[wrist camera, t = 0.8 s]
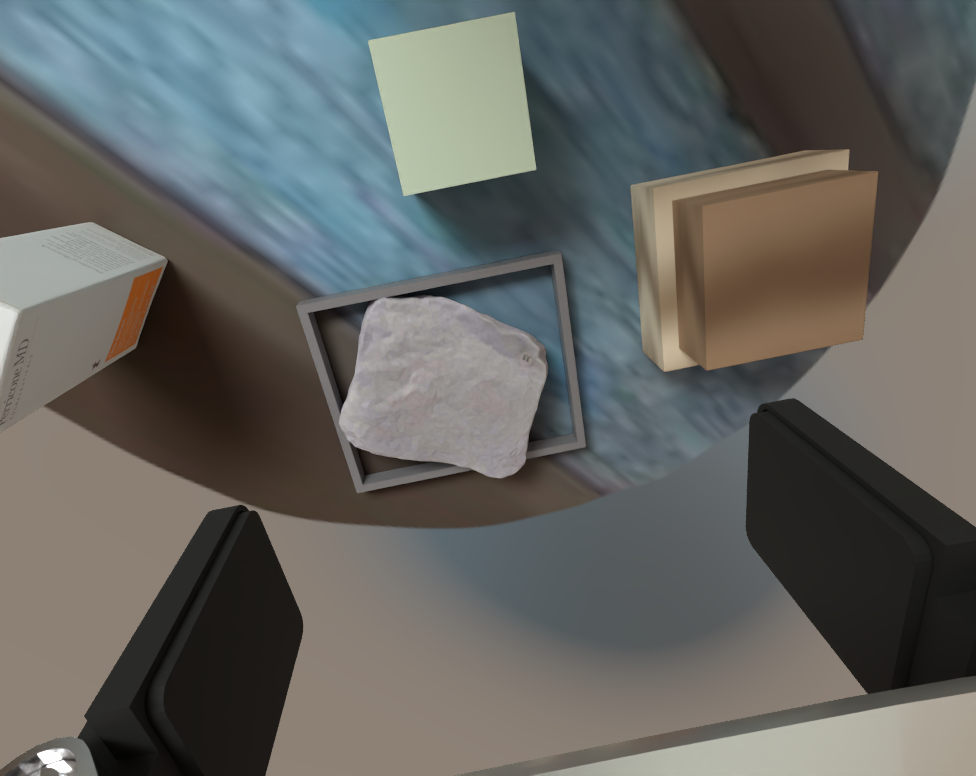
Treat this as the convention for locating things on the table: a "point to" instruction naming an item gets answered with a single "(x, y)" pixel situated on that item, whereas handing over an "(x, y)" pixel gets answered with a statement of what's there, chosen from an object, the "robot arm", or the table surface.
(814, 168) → the beech block
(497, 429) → the stone block
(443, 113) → the green cube
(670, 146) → the table surface
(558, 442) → the tray rim
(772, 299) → the walnut block
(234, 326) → the table surface
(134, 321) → the skincare box
